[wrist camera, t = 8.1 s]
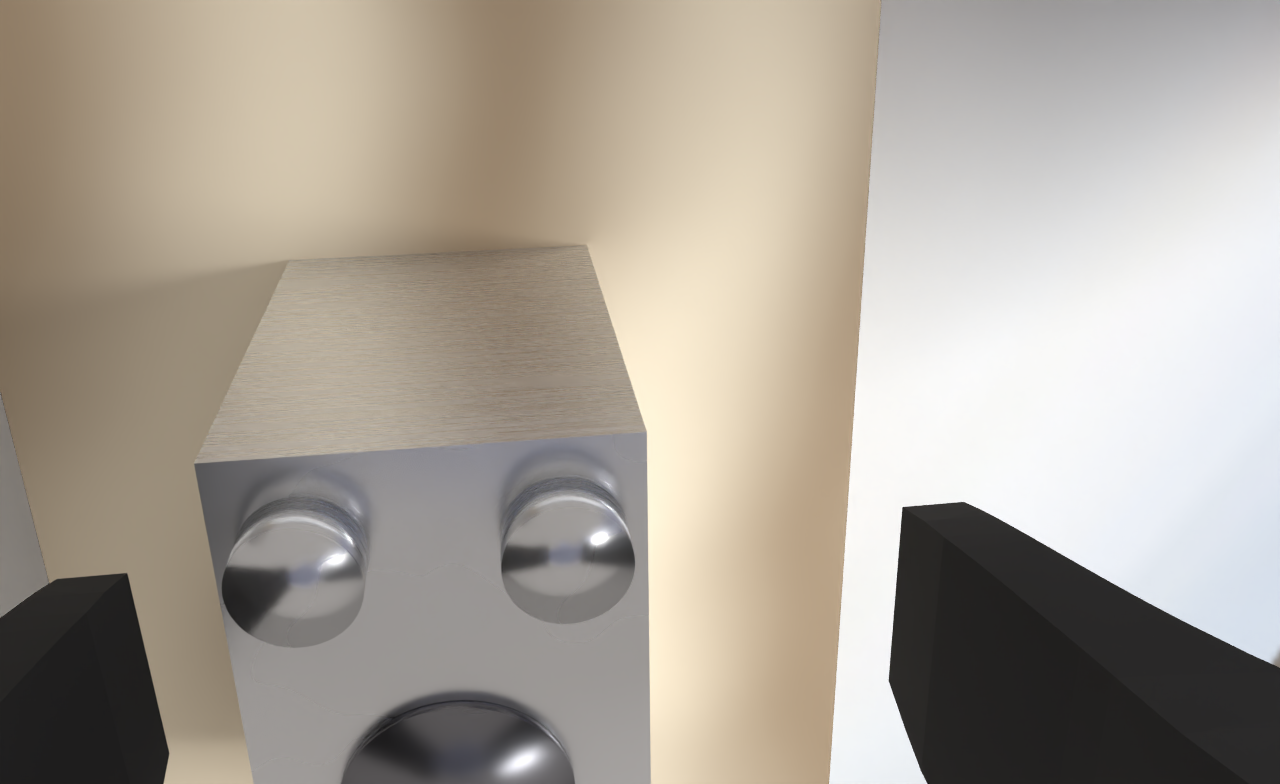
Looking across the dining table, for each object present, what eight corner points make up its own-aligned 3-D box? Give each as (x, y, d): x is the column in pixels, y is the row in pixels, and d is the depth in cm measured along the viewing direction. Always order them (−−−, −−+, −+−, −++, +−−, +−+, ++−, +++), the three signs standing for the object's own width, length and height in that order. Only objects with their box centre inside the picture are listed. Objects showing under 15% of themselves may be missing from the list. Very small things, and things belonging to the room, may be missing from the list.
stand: (822, -72, 18) (885, -61, 15) (783, 760, 24) (823, 872, 22) (-14, -55, 16) (-110, -42, 14) (181, 822, 23) (143, 950, 20)
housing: (586, 245, 16) (656, 461, 10) (601, 711, 19) (661, 1085, 13) (288, 260, 16) (178, 495, 10) (355, 735, 19) (302, 1133, 13)
